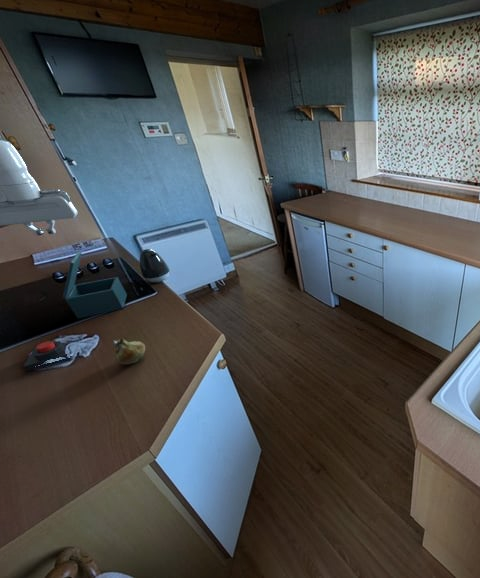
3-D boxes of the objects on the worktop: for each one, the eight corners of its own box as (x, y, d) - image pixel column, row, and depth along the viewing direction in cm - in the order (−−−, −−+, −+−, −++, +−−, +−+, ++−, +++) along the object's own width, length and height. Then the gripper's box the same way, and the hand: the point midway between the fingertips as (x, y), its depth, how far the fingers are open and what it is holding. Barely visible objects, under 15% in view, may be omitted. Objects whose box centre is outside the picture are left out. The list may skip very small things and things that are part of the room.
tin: (127, 294, 124) (117, 276, 120) (123, 308, 116) (112, 289, 111) (85, 303, 118) (73, 285, 114) (77, 318, 110) (64, 299, 105)
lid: (81, 251, 110) (78, 250, 110) (73, 263, 102) (70, 262, 101) (74, 284, 114) (71, 283, 113) (65, 298, 105) (62, 298, 105)
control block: (27, 371, 88) (18, 362, 85) (37, 355, 93) (29, 346, 91) (71, 359, 92) (64, 350, 90) (78, 344, 98) (71, 335, 96)
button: (37, 354, 89) (34, 350, 88) (41, 347, 91) (38, 343, 90) (53, 350, 90) (50, 346, 89) (57, 343, 93) (54, 339, 92)
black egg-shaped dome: (157, 287, 130) (142, 256, 122) (140, 282, 133) (125, 252, 125) (177, 276, 138) (165, 247, 130) (162, 273, 141) (149, 243, 133)
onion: (116, 372, 88) (103, 353, 83) (123, 355, 94) (111, 336, 90) (146, 365, 90) (135, 345, 86) (151, 348, 97) (141, 330, 92)
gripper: (67, 187, 99) (88, 226, 106) (-21, 193, 90) (8, 236, 97) (62, 190, 94) (84, 231, 102) (-32, 198, 85) (-1, 242, 93)
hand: (46, 234), depth 99 cm, fingers closed
